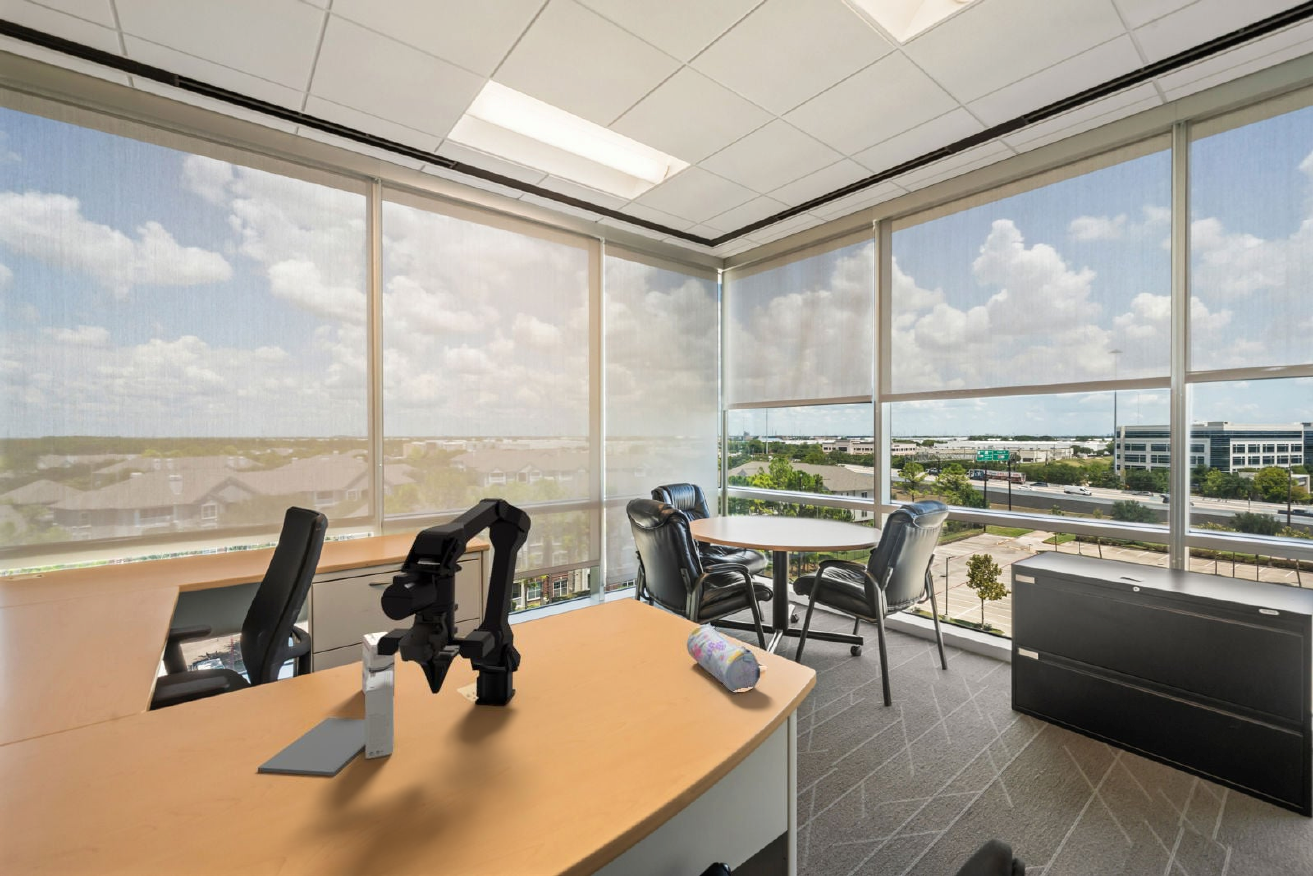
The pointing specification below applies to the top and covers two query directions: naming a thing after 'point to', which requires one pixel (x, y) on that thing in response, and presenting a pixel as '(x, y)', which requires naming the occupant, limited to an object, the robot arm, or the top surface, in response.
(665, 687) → the top surface
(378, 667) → the ink box
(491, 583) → the robot arm
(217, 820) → the top surface
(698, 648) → the pencil case
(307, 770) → the mat
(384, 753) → the skincare box
